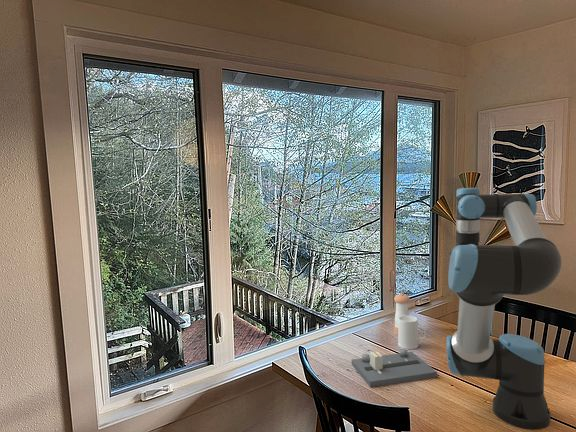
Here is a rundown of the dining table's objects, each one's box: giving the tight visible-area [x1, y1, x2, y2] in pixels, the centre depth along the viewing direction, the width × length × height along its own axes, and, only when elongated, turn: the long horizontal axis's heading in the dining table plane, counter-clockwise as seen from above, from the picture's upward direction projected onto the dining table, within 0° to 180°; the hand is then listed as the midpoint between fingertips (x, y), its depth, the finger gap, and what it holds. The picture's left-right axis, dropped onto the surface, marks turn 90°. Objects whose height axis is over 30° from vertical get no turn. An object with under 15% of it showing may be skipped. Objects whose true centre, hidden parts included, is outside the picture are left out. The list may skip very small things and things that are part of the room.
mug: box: [397, 315, 427, 350], centre depth 172 cm, size 12×8×12 cm
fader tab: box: [369, 350, 383, 370], centre depth 150 cm, size 4×3×5 cm
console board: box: [351, 348, 438, 388], centre depth 151 cm, size 18×26×4 cm
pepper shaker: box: [393, 292, 411, 336], centre depth 186 cm, size 7×7×19 cm
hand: (467, 296), depth 143 cm, fingers closed
